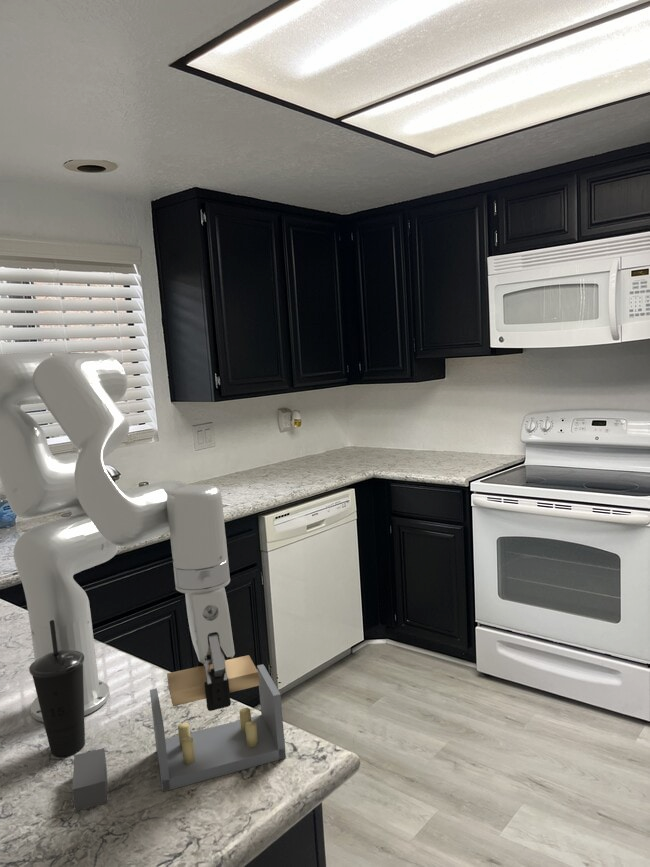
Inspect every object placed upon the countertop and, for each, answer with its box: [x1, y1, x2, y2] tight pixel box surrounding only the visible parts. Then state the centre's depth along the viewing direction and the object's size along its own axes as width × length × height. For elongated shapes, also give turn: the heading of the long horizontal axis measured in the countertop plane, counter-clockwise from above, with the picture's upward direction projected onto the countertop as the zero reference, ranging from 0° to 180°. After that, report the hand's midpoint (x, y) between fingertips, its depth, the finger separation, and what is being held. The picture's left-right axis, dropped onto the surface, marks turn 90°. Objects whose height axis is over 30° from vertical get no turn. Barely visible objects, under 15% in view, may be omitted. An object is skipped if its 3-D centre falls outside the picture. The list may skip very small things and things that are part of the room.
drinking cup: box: [28, 620, 86, 758], centre depth 97 cm, size 8×8×20 cm
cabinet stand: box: [149, 663, 287, 793], centre depth 93 cm, size 10×17×10 cm, turn 109°
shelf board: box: [166, 654, 260, 707], centre depth 92 cm, size 12×6×2 cm, turn 109°
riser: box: [71, 747, 108, 812], centre depth 88 cm, size 8×4×3 cm, turn 19°
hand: (214, 695), depth 93 cm, fingers closed on shelf board, 6 cm apart
